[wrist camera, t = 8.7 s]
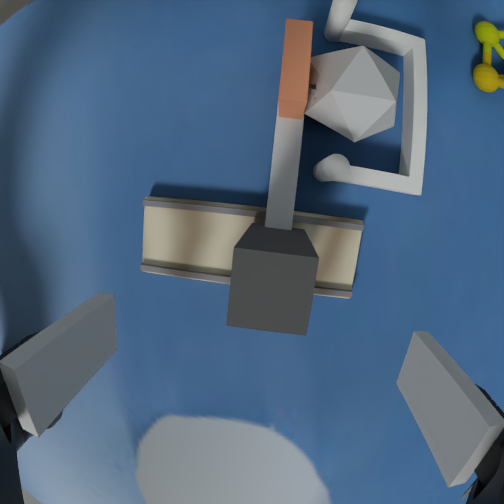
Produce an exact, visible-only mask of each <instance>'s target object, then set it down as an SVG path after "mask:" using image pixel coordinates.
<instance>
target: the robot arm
mask: <svg viewBox="0 0 504 504" xmlns="http://www.w3.org/2000/svg"><path fill="white" fill-rule="evenodd" d="M117 349H118V348H117V336H116V323H115V305H114V295H112V294H107V293H102V292H99V293H97V294H96V295H94V296H93V297H91V298H90V299H88V300H87V301H85V302H84V303H82V304H81V305H79V306H78V307H76V308H75V309H73V310H72V311H70V312H69V313H67V314H66V315H64V316H63V317H61V318H60V319H58V320H57V321H55V322H54V323H53V324H51V325H50V326H48V327H47V328H45V329H44V330H42V331H41V332H38V333H35V334H32V335H30V336H27V337H26V338H24V339H23V340H22V341H20V343H17V344H16V345H14V346H13V348H10V349H9V350H7V351H6V352H4V353H3V354H2V355H0V504H24V500H23V495H22V489H21V483H20V476H19V469H18V461H17V451H18V450H19V449H20V447H21V446H22V445H23V444H24V443H25V442H26V441H27V439H28V438H29V437H31V436H33V435H35V436H37V437H40V436H41V434H42V433H43V432H44V431H45V430H46V429H49V428H51V427H53V426H54V425H55V424H56V423H57V421H58V420H59V419H60V418H61V415H62V410H63V409H64V408H65V407H66V406H67V405H68V403H69V402H70V401H71V400H72V399H73V398H74V397H75V396H76V394H77V393H78V392H79V391H80V390H81V389H82V388H83V387H84V386H85V384H86V383H87V382H88V381H89V380H90V379H91V378H92V377H93V376H94V374H95V373H96V372H97V371H98V370H99V369H100V368H101V367H102V366H103V365H104V363H105V362H106V361H107V360H108V359H109V358H110V357H111V356H112V355H113V354H114V353H115V351H116V350H117ZM396 384H397V386H398V387H399V389H400V391H401V393H402V395H403V397H404V399H405V401H406V402H407V404H408V406H409V408H410V410H411V412H412V414H413V416H414V418H415V420H416V422H417V424H418V426H419V428H420V430H421V432H422V434H423V436H424V438H425V440H426V442H427V444H428V446H429V448H430V450H431V452H432V454H433V456H434V458H435V460H436V462H437V464H438V467H439V469H440V471H441V473H442V475H443V477H444V479H445V482H446V484H447V486H448V487H451V486H455V485H459V484H462V483H465V482H466V481H467V480H468V478H469V477H470V476H471V475H472V473H473V472H474V471H475V473H476V475H477V479H476V480H475V481H474V482H473V484H472V485H471V486H470V487H469V488H468V490H467V491H466V492H465V493H464V494H463V496H462V498H463V499H464V498H465V497H466V496H467V494H469V493H470V494H469V496H468V499H467V502H466V504H504V413H503V411H502V410H501V409H500V408H499V407H498V406H496V405H497V404H496V403H495V402H494V401H493V400H491V397H490V396H489V395H488V393H487V392H486V391H485V390H484V389H482V388H481V387H479V386H478V385H476V384H474V383H473V381H472V380H471V379H470V378H469V377H468V376H467V374H466V373H465V372H464V371H463V370H462V369H461V368H460V366H459V365H458V364H457V363H456V362H455V361H454V360H453V359H452V357H451V356H450V355H449V354H448V353H447V352H446V351H445V350H444V349H443V348H442V346H441V345H440V344H439V343H438V342H437V341H436V340H435V339H434V338H433V337H432V336H431V335H430V333H429V332H423V331H414V332H413V335H412V338H411V342H410V345H409V348H408V351H407V354H406V357H405V360H404V363H403V366H402V368H401V371H400V374H399V377H398V379H397V382H396Z"/></svg>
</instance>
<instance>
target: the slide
mask: <svg viewBox="0 0 504 504" xmlns="http://www.w3.org/2000/svg"><path fill="white" fill-rule="evenodd" d="M143 206H145V211H144V232H143V263H142V264H141V265H140V270H142V271H143V272H149V273H156V274H162V275H169V276H175V277H182V278H189V279H196V280H203V281H210V282H217V283H224V284H230V281H231V270H232V259H233V248H234V246H235V245H236V244H237V242H238V241H239V240H240V238H241V237H242V236H243V234H244V233H245V232H246V230H247V229H248V228H249V226H250V225H251V224H252V223H257V224H265V220H266V211H267V208H266V207H257V206H248V205H239V204H229V203H220V202H210V201H199V200H188V199H177V198H165V197H152V196H148V197H145V200H143ZM292 228H298V229H304V230H305V232H306V233H307V235H308V237H309V239H310V241H311V243H312V245H313V247H314V249H315V251H316V253H317V254H318V256H319V264H318V270H317V276H316V282H315V288H314V294H313V295H322V296H331V297H340V298H351V297H352V291H351V289H352V284H353V279H354V273H355V268H356V263H357V257H358V251H359V245H360V239H361V233H362V231H364V225H363V221H362V220H356V219H350V218H343V217H336V216H329V215H321V214H314V213H306V212H299V211H294V213H293V221H292Z"/></svg>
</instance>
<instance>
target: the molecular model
mask: <svg viewBox="0 0 504 504" xmlns="http://www.w3.org/2000/svg"><path fill="white" fill-rule="evenodd" d="M474 32H475V35H476V38H477V39H478V40H479V42H480V43H482V44H483V64H479V65H477V66H476V67H475V68H474V70H473V80H474V82H475V84H476V85H477V87H478V88H479V89H481V90H482V91H485V92H493V91H495V90H496V89H497V88H498V87H500V88H503V89H504V75H499V74H498V73H497V71H496V70H495V69H494V68H493V67H491V53H492V47H494V49H495V50H496V51H497V53H498V54H499V55H500V57H501V58H502V59H503V61H504V49H503V48H502V46H501V45H500V44H499V40H500V39H504V31H503V30H497V28H496V27H495V26H494V25H493V24H491V23H489V22H486V21H482V22H479V23H477V24H476V26H475V29H474Z"/></svg>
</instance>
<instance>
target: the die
mask: <svg viewBox="0 0 504 504" xmlns="http://www.w3.org/2000/svg"><path fill="white" fill-rule="evenodd" d="M399 79H400V73H399V72H398V71H397V70H395V69H394V68H393V67H392V66H390V65H389V64H388V63H387V62H385V61H384V60H383V59H381V58H380V57H379V56H377V55H376V54H374V53H373V52H372V51H370V50H369V49H368V48H366V47H365V46H359V47H353V48H348V49H344V50H339V51H334V52H330V53H326V54H322V55H318V56H314V57H311V59H310V73H309V85H308V97H307V104H306V107H305V111H304V114H306V115H308V116H310V117H311V118H313V119H315V120H317V121H319V122H320V123H322V124H324V125H326V126H328V127H329V128H331V129H333V130H335V131H336V132H338V133H340V134H341V135H343V136H345V137H347V138H348V139H350V140H351V141H353V142H356V141H359V140H361V139H364V138H366V137H368V136H371V135H373V134H376V133H378V132H381V131H383V130H386V129H388V128H391V127H393V126H394V122H395V115H396V107H397V98H398V89H399Z"/></svg>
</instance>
